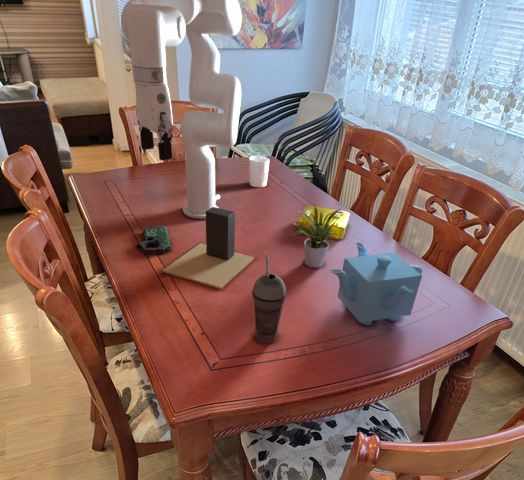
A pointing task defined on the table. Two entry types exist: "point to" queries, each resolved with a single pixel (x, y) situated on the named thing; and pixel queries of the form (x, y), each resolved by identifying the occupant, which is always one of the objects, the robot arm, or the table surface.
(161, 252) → the gun
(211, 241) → the black device
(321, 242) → the house plant
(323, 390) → the table surface
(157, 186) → the table surface
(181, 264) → the cork mat
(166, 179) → the table surface
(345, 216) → the yellow package
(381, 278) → the teakettle
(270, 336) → the beverage cup
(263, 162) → the white cup
